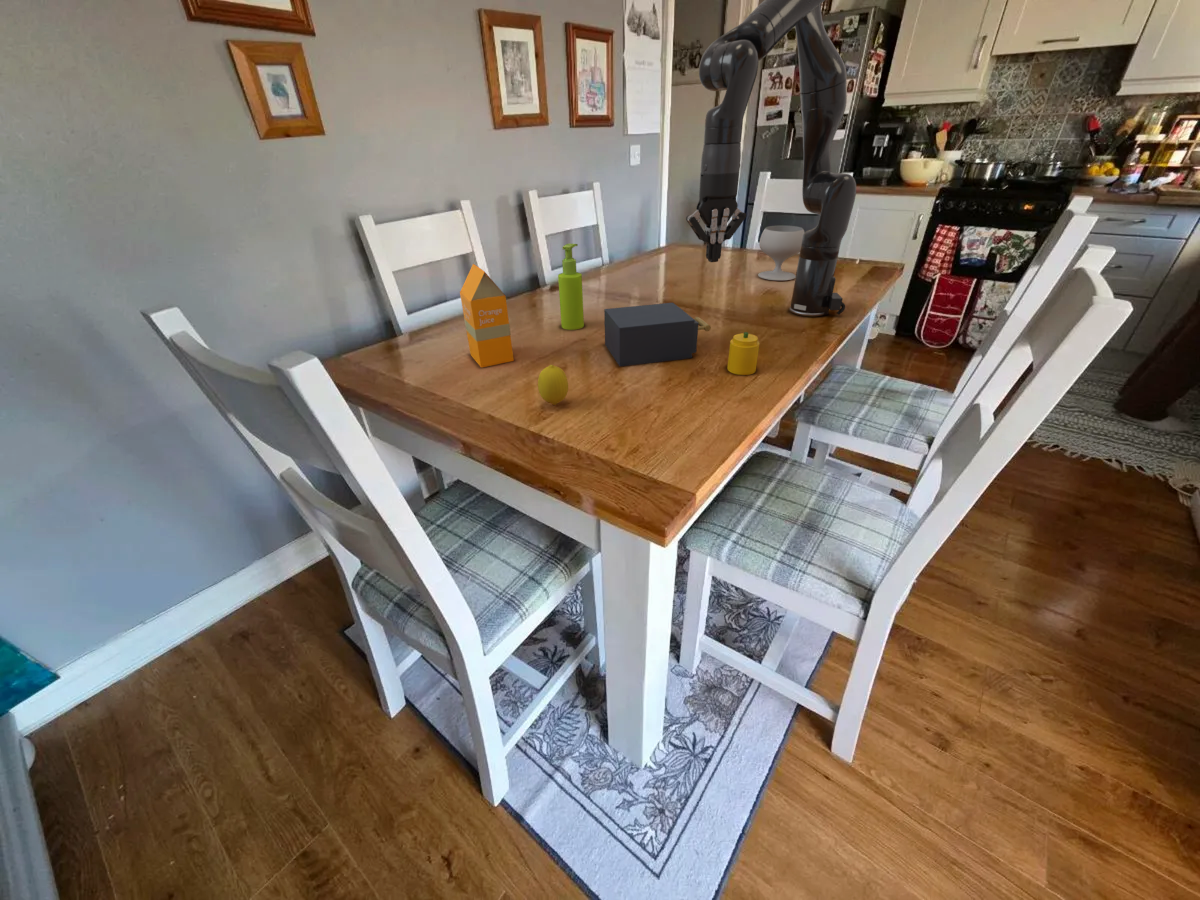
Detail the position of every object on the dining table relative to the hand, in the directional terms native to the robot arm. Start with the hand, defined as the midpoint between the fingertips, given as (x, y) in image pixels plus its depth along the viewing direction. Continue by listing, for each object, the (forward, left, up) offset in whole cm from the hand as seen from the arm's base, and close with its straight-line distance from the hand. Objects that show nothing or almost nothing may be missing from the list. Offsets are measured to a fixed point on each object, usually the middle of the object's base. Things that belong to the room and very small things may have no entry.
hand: (712, 261), depth 110 cm
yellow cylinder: (-7, +14, -19) cm, 24 cm away
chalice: (-26, -64, -19) cm, 72 cm away
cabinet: (+14, +5, -19) cm, 24 cm away
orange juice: (+48, +11, -19) cm, 53 cm away
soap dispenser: (+33, -12, -19) cm, 40 cm away
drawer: (+10, +4, -18) cm, 21 cm away
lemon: (+29, +33, -19) cm, 48 cm away
